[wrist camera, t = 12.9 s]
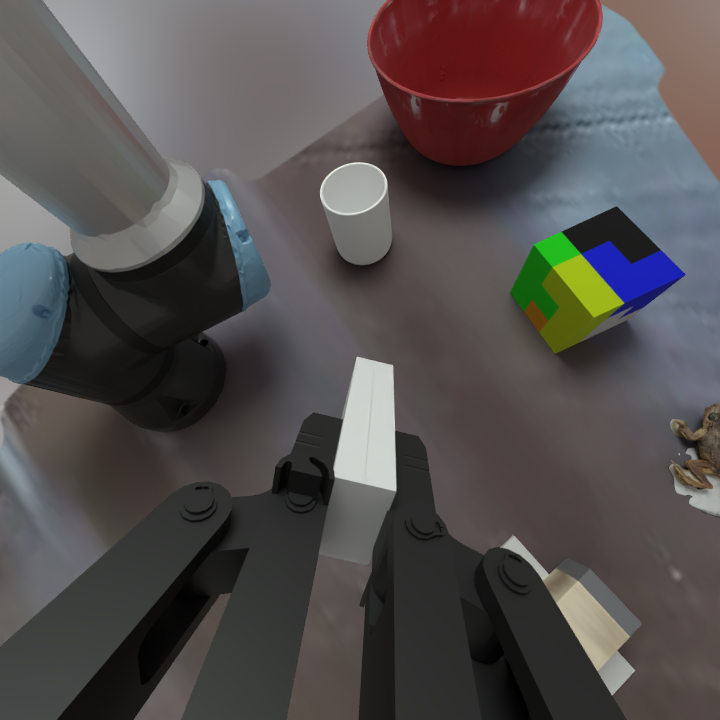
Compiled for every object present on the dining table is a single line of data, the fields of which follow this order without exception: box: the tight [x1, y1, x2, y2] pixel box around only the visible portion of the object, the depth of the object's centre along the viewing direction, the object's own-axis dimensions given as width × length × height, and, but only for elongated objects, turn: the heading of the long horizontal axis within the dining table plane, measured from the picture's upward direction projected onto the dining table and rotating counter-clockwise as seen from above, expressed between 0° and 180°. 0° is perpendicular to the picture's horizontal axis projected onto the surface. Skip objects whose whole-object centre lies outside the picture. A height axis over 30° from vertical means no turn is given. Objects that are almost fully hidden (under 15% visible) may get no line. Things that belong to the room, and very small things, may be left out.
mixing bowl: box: [367, 0, 603, 166], centre depth 50 cm, size 28×28×16 cm
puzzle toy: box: [510, 206, 686, 354], centre depth 40 cm, size 10×10×10 cm
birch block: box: [543, 558, 642, 671], centre depth 30 cm, size 5×5×20 cm
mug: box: [320, 162, 392, 265], centre depth 48 cm, size 9×12×11 cm
